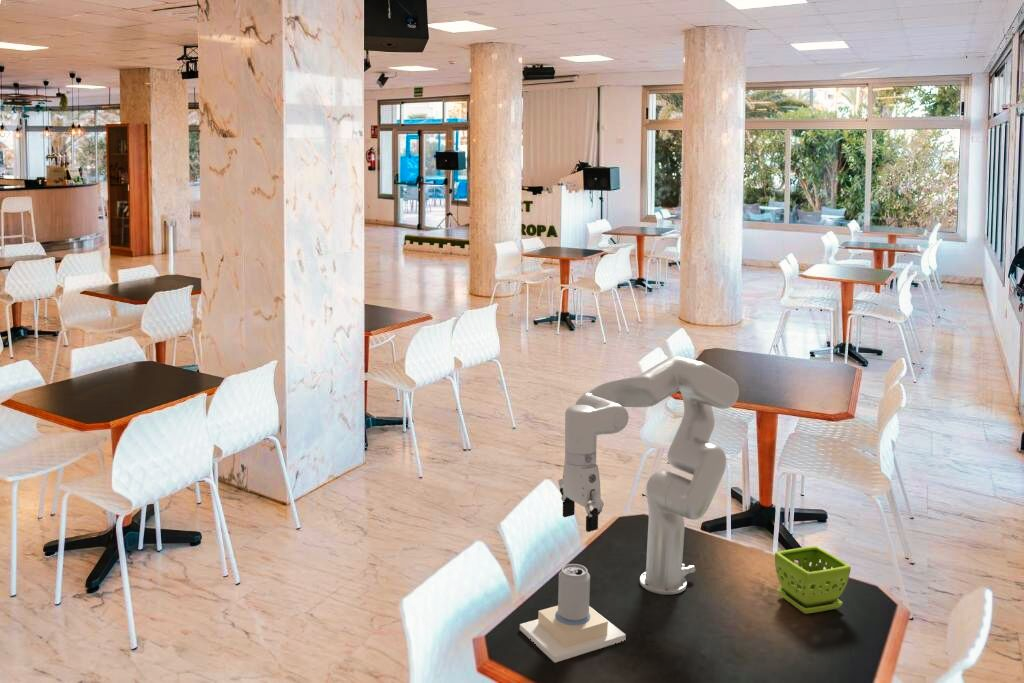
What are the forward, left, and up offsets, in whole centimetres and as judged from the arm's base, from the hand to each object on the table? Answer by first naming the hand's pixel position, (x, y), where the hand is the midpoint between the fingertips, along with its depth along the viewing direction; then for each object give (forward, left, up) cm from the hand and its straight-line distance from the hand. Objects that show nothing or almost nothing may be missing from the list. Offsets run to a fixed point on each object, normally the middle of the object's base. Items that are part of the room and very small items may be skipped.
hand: (580, 522), depth 213 cm
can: (+5, +6, -21) cm, 22 cm away
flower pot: (-58, +22, -26) cm, 67 cm away
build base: (+5, +6, -26) cm, 27 cm away
